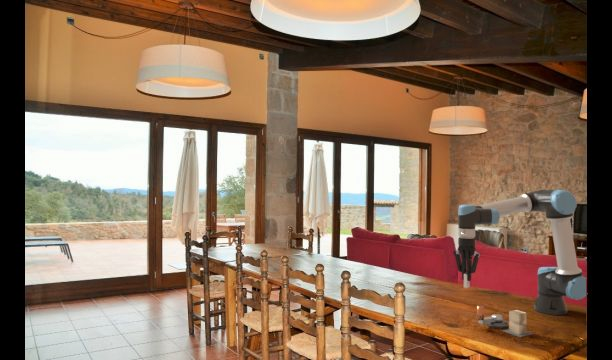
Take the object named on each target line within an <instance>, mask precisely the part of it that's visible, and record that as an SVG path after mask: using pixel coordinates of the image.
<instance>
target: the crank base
mask: <svg viewBox="0 0 612 360" xmlns="http://www.w3.org/2000/svg"><path fill="white" fill-rule="evenodd" d="M486 325H487V327H489V328H492V329H498V330H506V329H508V328H509V321H507V320H505V319H503V322H493V323H488V324H486Z"/></svg>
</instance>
